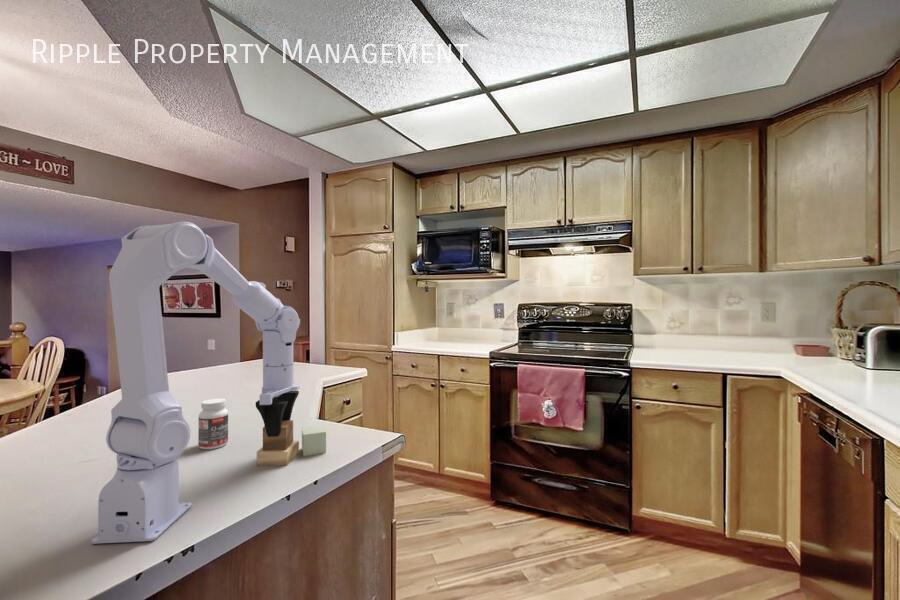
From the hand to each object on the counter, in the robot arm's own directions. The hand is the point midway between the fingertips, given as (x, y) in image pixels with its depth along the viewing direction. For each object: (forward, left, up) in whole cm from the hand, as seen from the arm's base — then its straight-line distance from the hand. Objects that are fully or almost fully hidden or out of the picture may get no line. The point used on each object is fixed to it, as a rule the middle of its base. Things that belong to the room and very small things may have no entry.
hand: (278, 431), depth 81 cm
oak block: (0, 0, -6) cm, 6 cm away
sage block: (+4, -6, -6) cm, 9 cm away
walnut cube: (0, 0, -3) cm, 3 cm away
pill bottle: (+9, +17, -6) cm, 20 cm away
